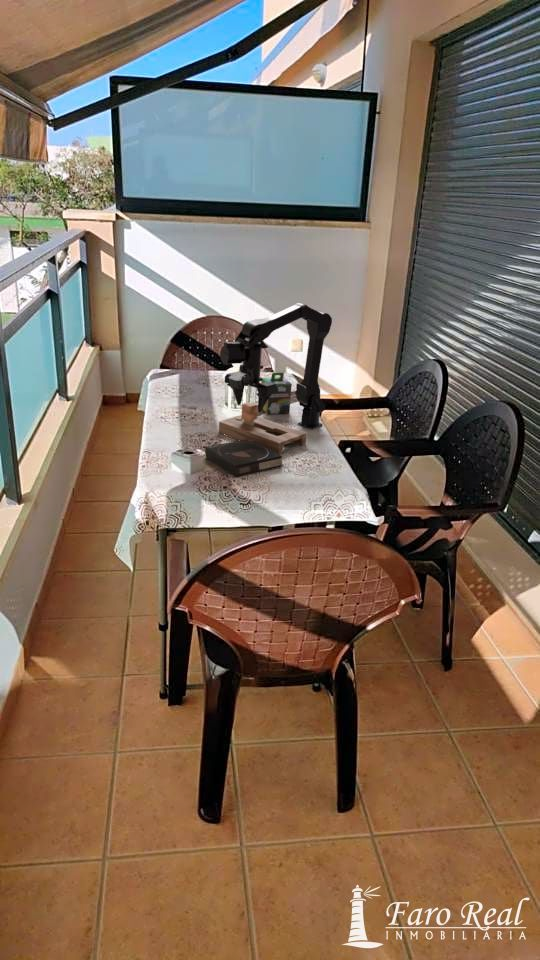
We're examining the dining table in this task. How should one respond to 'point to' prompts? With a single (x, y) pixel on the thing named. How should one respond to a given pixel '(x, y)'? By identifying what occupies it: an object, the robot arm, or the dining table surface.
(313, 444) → the dining table surface
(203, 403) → the dining table surface
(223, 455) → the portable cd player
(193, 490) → the dining table surface
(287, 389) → the chalk box
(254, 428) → the keyhole plate
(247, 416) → the copper peg
